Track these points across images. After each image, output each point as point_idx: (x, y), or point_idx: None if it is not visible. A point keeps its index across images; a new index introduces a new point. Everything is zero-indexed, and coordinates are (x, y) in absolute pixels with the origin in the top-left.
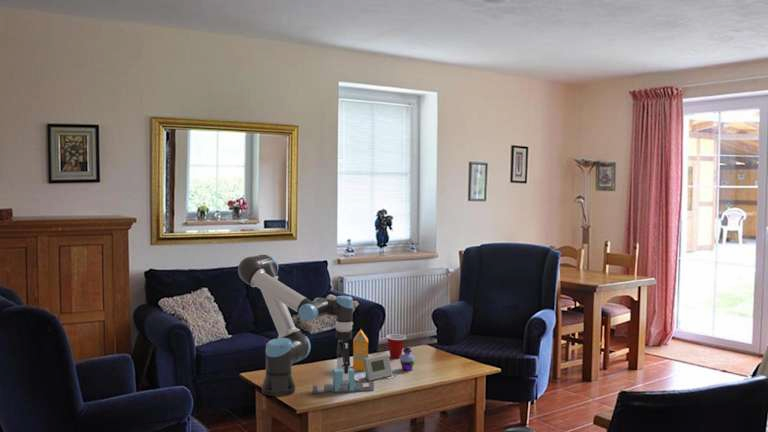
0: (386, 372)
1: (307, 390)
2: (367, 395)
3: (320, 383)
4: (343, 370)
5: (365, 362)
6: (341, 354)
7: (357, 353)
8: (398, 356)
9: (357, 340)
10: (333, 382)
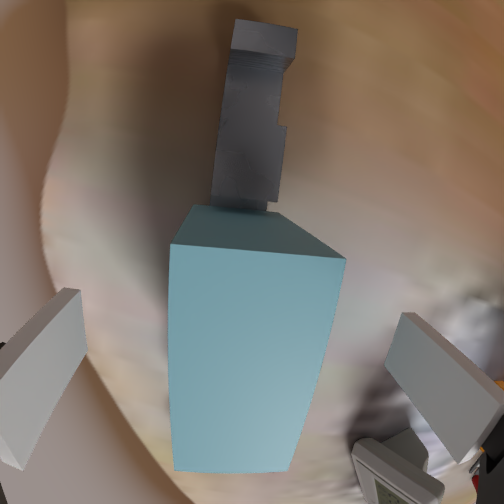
0: (369, 497)
1: (337, 40)
2: (109, 390)
3: (445, 182)
4: (2, 357)
5: (418, 491)
6: (491, 486)
7: None
8: (474, 481)
9: None
10: (259, 218)
